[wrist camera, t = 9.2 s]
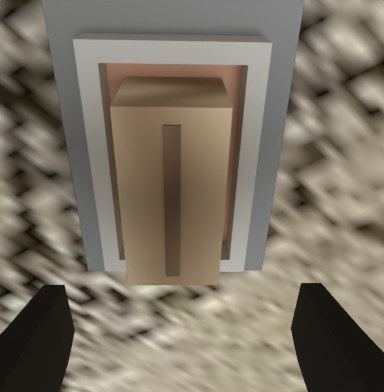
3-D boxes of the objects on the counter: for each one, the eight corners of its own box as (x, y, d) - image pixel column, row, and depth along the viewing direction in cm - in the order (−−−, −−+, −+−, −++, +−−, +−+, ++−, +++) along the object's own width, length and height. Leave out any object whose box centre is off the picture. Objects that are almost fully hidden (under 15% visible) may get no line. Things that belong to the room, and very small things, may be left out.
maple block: (221, 77, 15) (233, 109, 12) (212, 230, 20) (218, 286, 16) (125, 76, 15) (109, 107, 12) (137, 230, 20) (127, 286, 16)
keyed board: (260, 265, 22) (266, 290, 20) (89, 265, 21) (81, 291, 20) (301, -4, 14) (318, 0, 13) (43, -10, 14) (24, -7, 12)
